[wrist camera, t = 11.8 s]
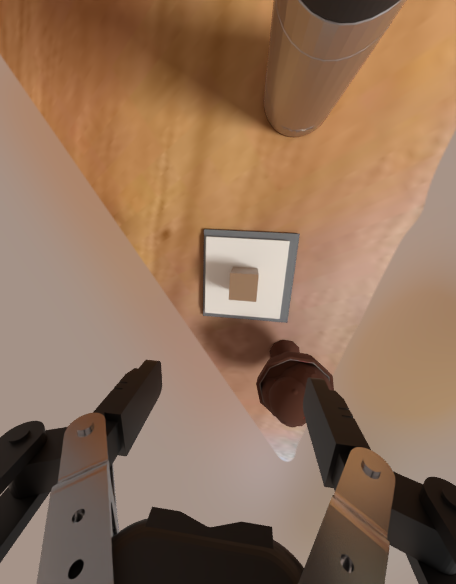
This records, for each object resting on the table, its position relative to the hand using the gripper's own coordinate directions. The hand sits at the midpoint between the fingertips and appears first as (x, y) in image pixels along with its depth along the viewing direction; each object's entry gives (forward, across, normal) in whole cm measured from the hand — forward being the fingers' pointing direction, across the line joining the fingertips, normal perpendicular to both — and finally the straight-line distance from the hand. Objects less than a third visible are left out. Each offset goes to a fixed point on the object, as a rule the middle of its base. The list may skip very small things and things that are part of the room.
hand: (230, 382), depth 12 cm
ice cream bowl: (+26, -8, +14) cm, 31 cm away
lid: (+25, 0, 0) cm, 25 cm away
